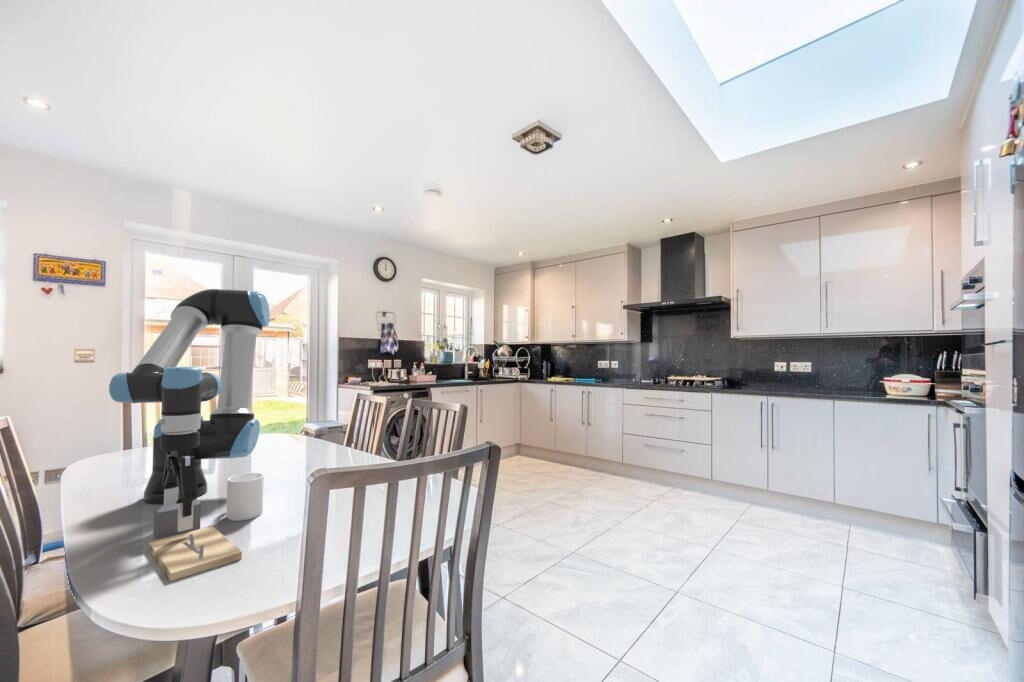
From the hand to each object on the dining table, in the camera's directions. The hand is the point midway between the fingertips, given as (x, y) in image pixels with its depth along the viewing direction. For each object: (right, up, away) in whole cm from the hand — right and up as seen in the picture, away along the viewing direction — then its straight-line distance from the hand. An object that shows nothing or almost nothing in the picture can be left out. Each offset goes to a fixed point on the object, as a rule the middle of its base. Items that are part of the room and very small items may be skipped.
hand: (177, 522), depth 102 cm
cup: (+7, -4, +14) cm, 16 cm away
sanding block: (0, -3, 0) cm, 3 cm away
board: (+11, -3, -9) cm, 14 cm away
